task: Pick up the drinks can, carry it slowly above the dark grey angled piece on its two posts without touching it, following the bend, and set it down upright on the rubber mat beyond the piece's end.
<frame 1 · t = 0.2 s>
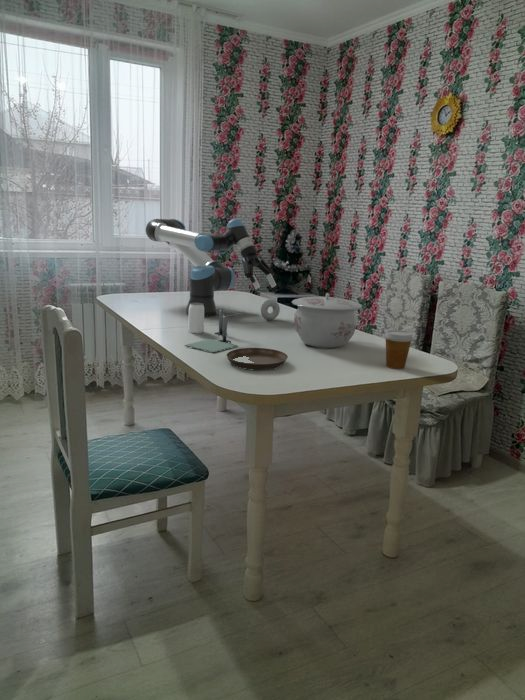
hand: (266, 287, 256), 15 cm above the table, tool tilted 35°, fingers open, 13 cm apart
disposable coffee cup: (395, 367, 186), on the table
dark grey angled piece: (224, 337, 217), on the table
plant saucer: (256, 364, 182), on the table
can: (196, 332, 225), on the table
mat: (211, 346, 201), on the table
chamber pot: (324, 345, 214), on the table
donut: (269, 320, 259), on the table
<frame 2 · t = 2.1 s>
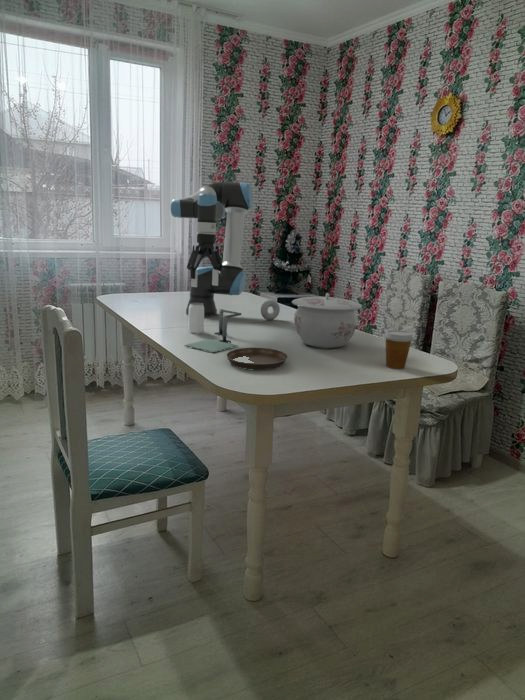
hand: (204, 286, 221), 19 cm above the table, tool pointing down, fingers open, 13 cm apart
nothing on the table moved.
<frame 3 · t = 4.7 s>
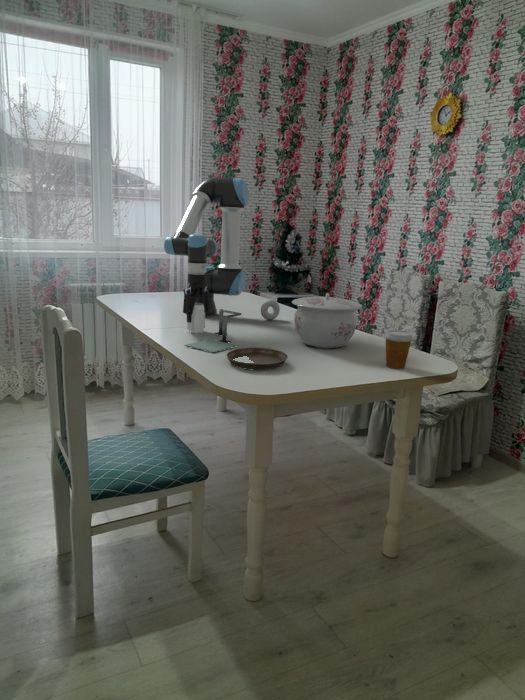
hand: (196, 328, 225), 1 cm above the table, tool pointing down, fingers closed on can, 6 cm apart
can: (196, 332, 225), on the table, touching gripper
everything else where it was.
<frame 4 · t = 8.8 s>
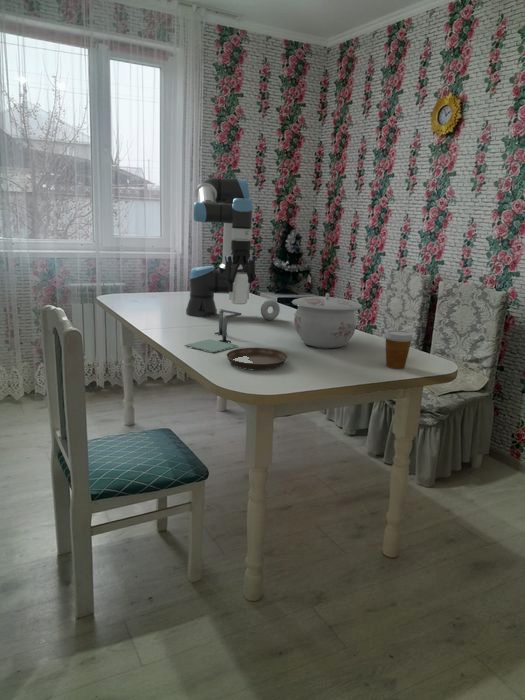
hand: (239, 299, 212), 16 cm above the table, tool pointing down, fingers closed on can, 6 cm apart
can: (238, 303, 212), point 14 cm above the table, touching gripper
everything else where it was.
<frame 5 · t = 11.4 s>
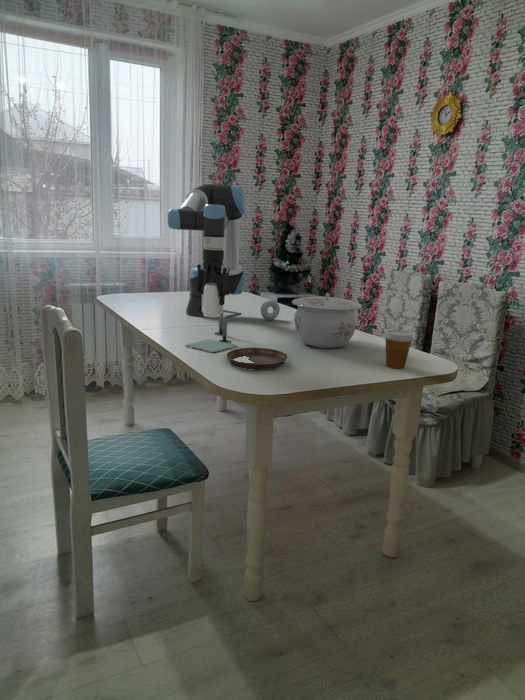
hand: (212, 312, 198), 13 cm above the table, tool pointing down, fingers closed on can, 6 cm apart
can: (211, 316, 199), point 11 cm above the table, touching gripper
everything else where it was.
when the fingers open (3 cm above the table, at t = 13.3 s): can drops 1 cm, resting on mat.
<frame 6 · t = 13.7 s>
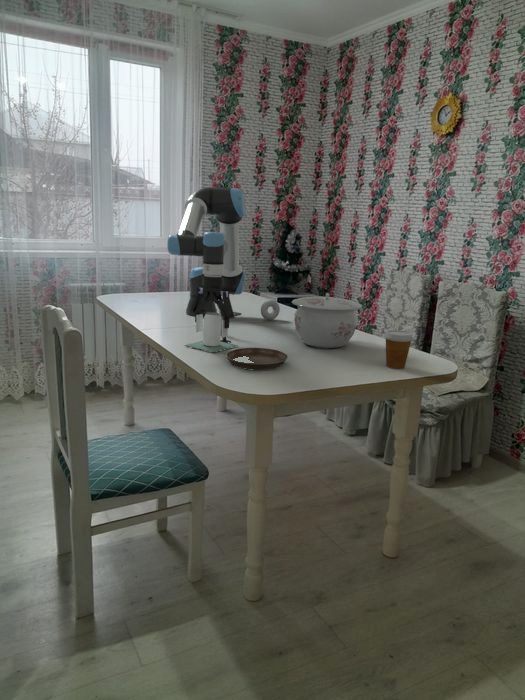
hand: (211, 334, 200), 5 cm above the table, tool pointing down, fingers open, 11 cm apart
can: (211, 345, 201), resting on mat
everything else where it was.
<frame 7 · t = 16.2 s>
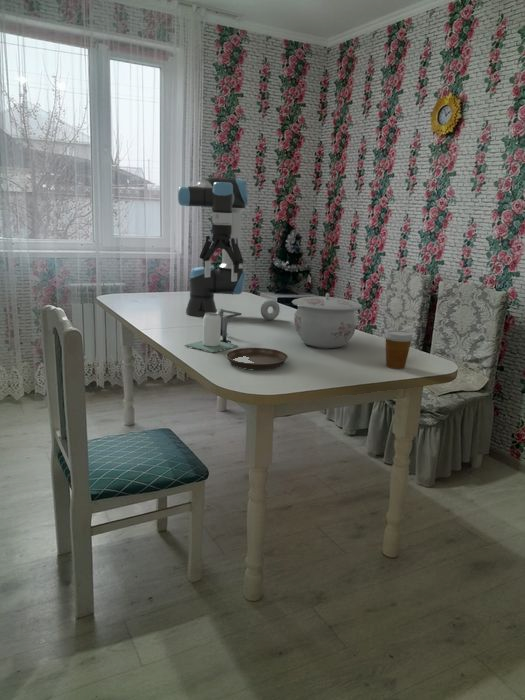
hand: (220, 279, 212), 23 cm above the table, tool pointing down, fingers open, 13 cm apart
nothing on the table moved.
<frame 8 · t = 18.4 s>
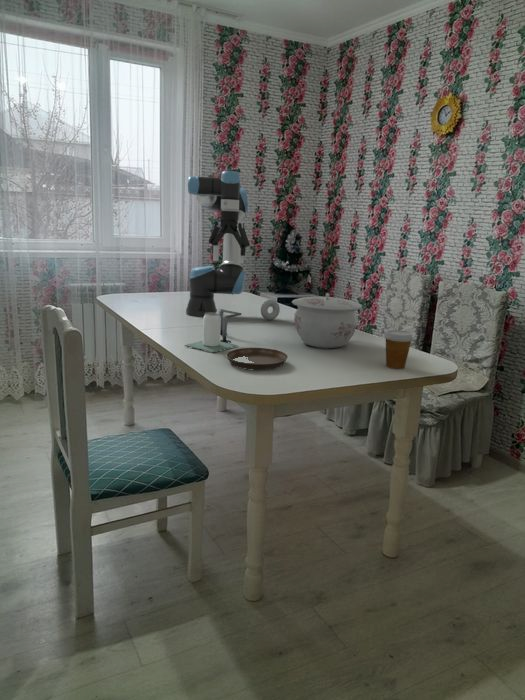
hand: (228, 262, 228), 29 cm above the table, tool pointing down, fingers open, 13 cm apart
nothing on the table moved.
at the end: can inside the target area on the mat (0.1 cm from its centre), point 0.4 cm above the mat's base; can tilted 0°; can touching mat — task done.
